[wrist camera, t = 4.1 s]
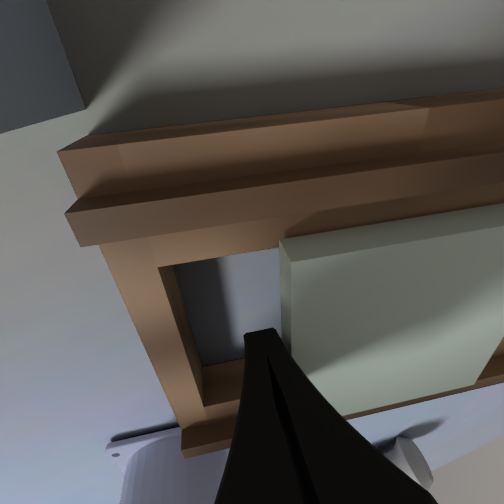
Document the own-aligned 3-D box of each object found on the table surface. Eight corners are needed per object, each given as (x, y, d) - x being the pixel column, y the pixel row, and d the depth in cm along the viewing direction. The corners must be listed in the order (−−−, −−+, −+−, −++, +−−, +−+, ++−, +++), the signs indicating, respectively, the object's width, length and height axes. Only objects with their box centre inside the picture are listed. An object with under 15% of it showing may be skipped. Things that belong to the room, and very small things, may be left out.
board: (482, 343, 21) (528, 386, 18) (190, 408, 18) (189, 468, 16) (636, 73, 11) (782, 71, 9) (86, 135, 9) (38, 161, 6)
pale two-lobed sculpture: (340, 458, 31) (332, 462, 27) (408, 431, 30) (410, 431, 26) (360, 509, 28) (355, 521, 24) (436, 481, 27) (444, 489, 23)
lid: (453, 362, 16) (474, 384, 15) (284, 400, 15) (291, 428, 14) (536, 197, 10) (580, 212, 9) (278, 239, 9) (291, 262, 8)
